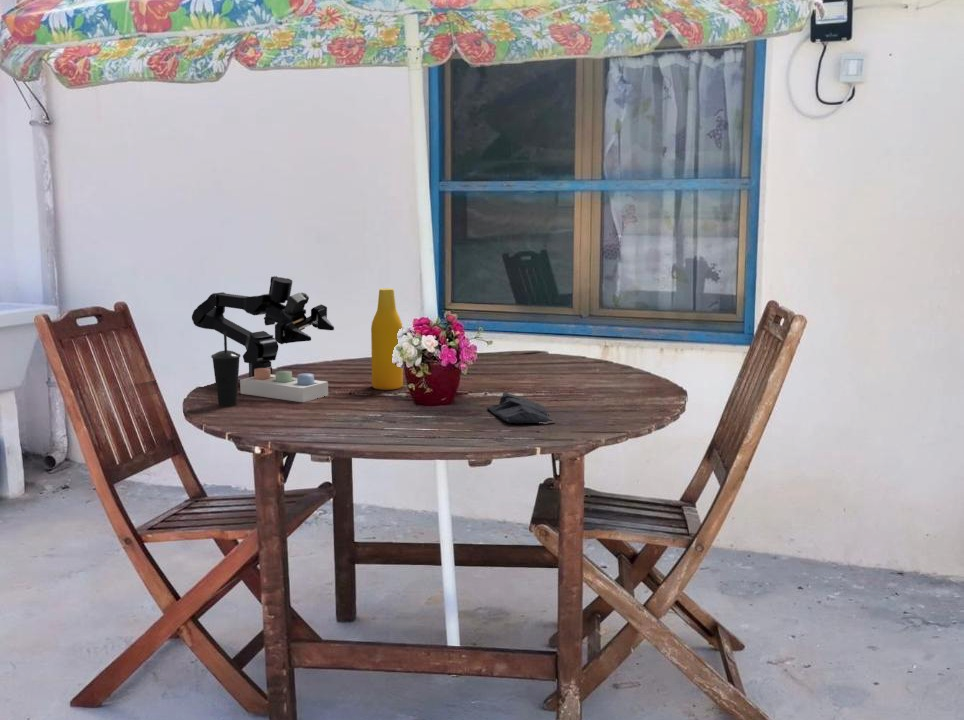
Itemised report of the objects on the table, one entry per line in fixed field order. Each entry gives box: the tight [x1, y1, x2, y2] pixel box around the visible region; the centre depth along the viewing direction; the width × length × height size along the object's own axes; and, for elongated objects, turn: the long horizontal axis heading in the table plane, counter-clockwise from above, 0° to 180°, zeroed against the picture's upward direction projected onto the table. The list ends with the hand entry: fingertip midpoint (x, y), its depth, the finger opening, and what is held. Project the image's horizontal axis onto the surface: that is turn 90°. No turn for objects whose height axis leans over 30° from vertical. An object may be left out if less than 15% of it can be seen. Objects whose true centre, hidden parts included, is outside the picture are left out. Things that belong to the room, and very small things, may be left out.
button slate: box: [296, 373, 315, 386], centre depth 300 cm, size 5×5×5 cm
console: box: [239, 373, 329, 403], centre depth 304 cm, size 23×11×4 cm, turn 59°
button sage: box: [274, 370, 293, 383], centre depth 304 cm, size 5×5×5 cm
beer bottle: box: [370, 288, 404, 391], centre depth 314 cm, size 9×9×29 cm
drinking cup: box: [210, 332, 241, 407], centre depth 289 cm, size 8×8×20 cm
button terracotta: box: [254, 368, 271, 380], centre depth 308 cm, size 5×5×5 cm
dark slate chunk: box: [486, 392, 553, 424], centre depth 279 cm, size 15×22×5 cm
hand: (322, 333), depth 306 cm, fingers open, 9 cm apart
